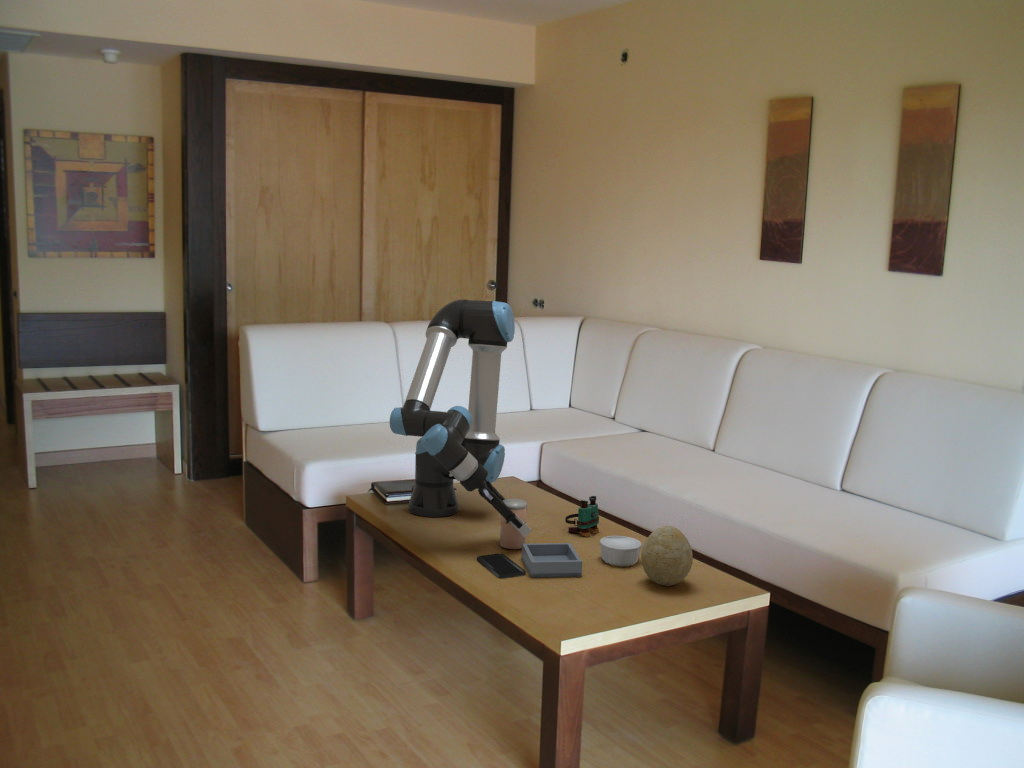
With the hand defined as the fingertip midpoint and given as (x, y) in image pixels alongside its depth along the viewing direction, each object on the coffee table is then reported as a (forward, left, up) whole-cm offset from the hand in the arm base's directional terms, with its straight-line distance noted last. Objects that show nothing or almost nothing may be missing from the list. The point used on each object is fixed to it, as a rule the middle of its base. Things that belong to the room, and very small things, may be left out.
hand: (525, 529), depth 261 cm
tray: (+16, +4, -5) cm, 17 cm away
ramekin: (+12, +23, -5) cm, 27 cm away
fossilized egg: (+29, +30, -5) cm, 42 cm away
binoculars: (-12, +18, -5) cm, 23 cm away
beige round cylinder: (0, -4, -4) cm, 6 cm away
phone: (+15, -9, -6) cm, 18 cm away
